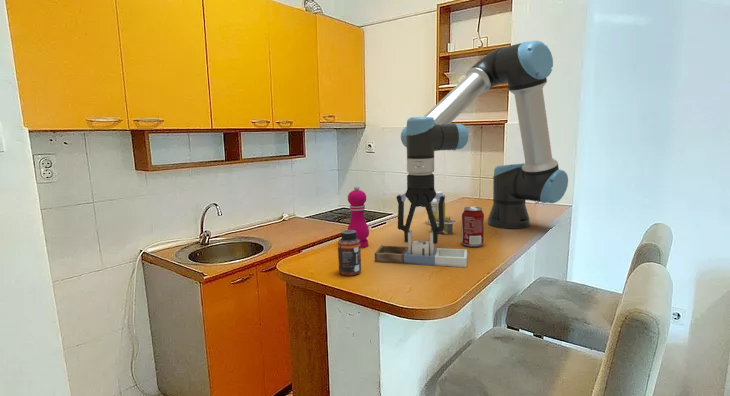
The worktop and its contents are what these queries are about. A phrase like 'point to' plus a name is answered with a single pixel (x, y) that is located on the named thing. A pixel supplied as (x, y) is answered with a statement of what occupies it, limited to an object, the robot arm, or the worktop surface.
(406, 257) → the blue square tray
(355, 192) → the pepper mill
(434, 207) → the supplement bottle
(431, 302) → the worktop surface
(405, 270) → the worktop surface
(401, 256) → the bin walnut
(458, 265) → the bin white
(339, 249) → the supplement bottle
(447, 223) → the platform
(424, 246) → the letter cube
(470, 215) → the soda can
